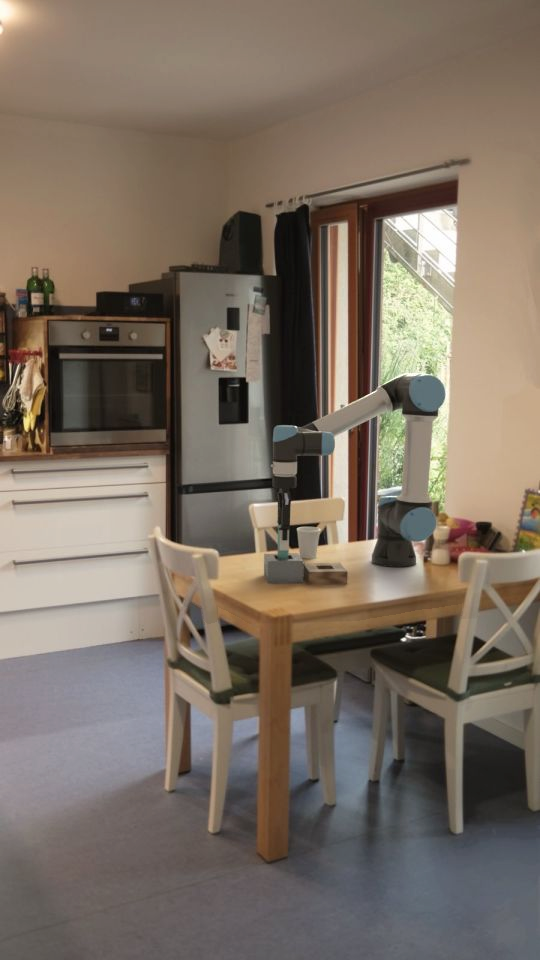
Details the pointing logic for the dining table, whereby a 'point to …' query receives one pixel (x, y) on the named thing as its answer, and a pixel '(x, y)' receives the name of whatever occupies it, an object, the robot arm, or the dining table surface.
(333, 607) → the dining table surface
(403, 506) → the robot arm
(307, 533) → the dixie cup
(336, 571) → the mount
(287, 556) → the pin
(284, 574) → the socket
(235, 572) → the dining table surface
